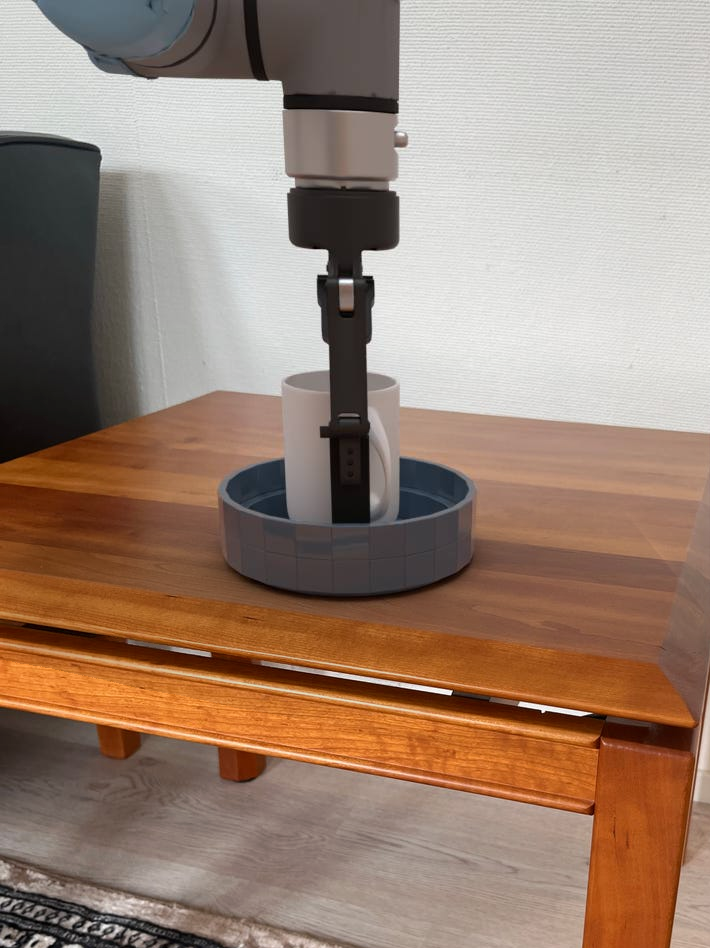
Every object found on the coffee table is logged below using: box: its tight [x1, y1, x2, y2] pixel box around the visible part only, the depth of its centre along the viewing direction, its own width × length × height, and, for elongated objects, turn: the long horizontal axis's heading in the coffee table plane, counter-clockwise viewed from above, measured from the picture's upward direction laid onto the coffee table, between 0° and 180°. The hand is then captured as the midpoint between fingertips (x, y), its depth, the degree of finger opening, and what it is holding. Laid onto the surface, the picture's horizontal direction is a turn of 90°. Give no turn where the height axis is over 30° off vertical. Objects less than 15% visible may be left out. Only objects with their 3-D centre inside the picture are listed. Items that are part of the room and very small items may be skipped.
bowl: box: [216, 455, 478, 597], centre depth 78 cm, size 19×19×6 cm
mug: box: [280, 369, 401, 524], centre depth 76 cm, size 9×12×11 cm
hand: (350, 502), depth 78 cm, fingers closed on mug, 11 cm apart
